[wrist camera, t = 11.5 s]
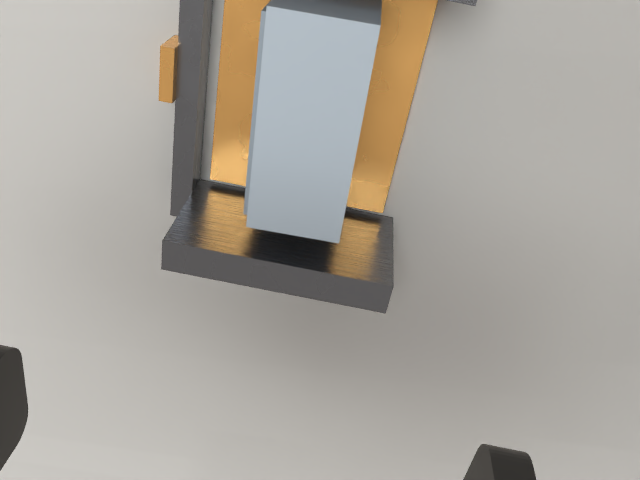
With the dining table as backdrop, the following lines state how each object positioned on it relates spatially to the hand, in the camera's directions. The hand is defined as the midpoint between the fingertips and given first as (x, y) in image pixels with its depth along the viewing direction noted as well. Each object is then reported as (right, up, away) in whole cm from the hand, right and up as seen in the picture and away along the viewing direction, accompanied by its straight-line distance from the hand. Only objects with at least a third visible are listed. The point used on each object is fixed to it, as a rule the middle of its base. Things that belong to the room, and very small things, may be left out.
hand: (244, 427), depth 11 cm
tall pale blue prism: (+1, +10, +17) cm, 20 cm away
